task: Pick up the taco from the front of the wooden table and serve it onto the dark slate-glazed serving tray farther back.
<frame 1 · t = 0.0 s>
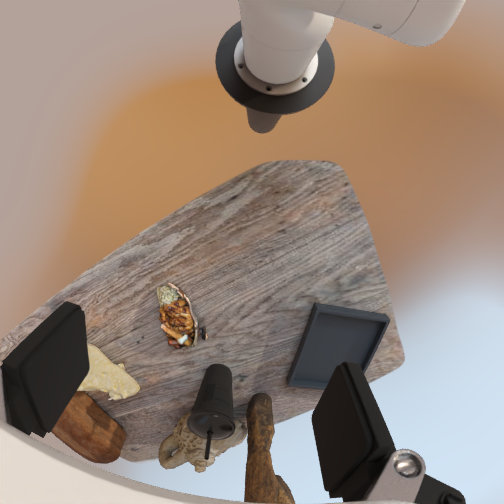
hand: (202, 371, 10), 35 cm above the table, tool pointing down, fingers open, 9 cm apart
taco: (177, 315, 49), on the table
cheese: (111, 356, 52), on the table
sculpture: (265, 394, 54), on the table
drinking cup: (218, 372, 53), on the table
serving tray: (336, 348, 51), on the table
teapot: (205, 416, 57), on the table
bread: (82, 402, 58), on the table
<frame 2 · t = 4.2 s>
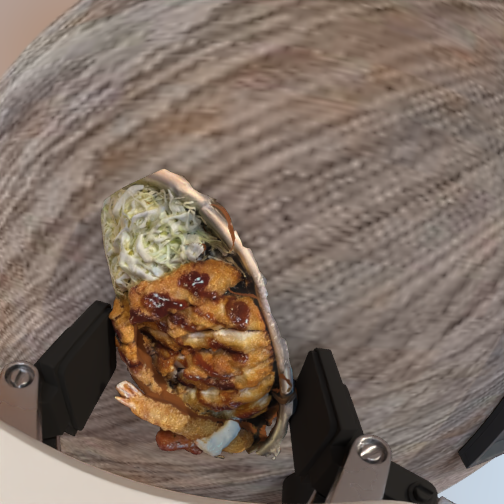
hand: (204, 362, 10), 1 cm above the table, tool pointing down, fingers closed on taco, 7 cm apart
taco: (193, 333, 11), on the table, touching gripper
drinking cup: (317, 478, 15), on the table
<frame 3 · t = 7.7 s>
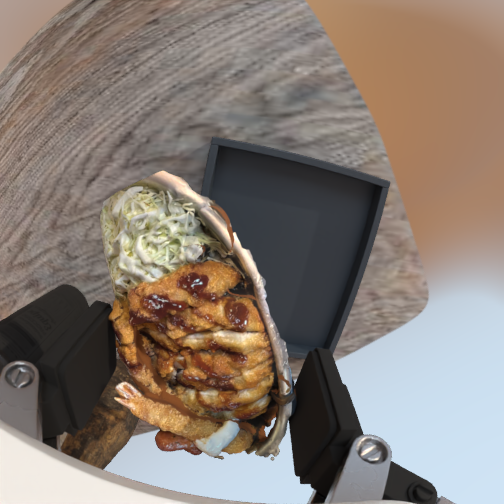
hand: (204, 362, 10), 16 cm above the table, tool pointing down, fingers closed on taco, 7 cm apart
taco: (192, 333, 11), point 14 cm above the table, touching gripper
sculpture: (154, 358, 29), on the table
drinking cup: (72, 304, 27), on the table
serving tray: (278, 256, 25), on the table
when the fingers open (2 cm above the table, at t = 11.6 s): taco stays where it is, resting on serving tray.
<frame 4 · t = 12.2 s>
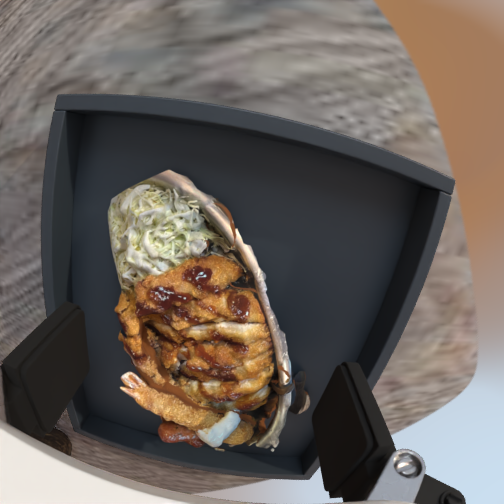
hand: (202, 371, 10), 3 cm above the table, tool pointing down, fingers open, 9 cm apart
taco: (195, 327, 12), resting on serving tray
sculpture: (66, 435, 16), on the table
serving tray: (212, 331, 12), on the table
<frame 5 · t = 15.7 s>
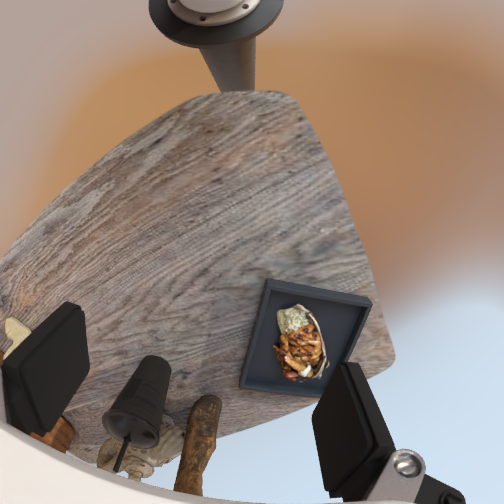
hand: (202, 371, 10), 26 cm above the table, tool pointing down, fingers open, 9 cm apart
taco: (297, 341, 39), resting on serving tray
cheese: (46, 341, 41), on the table
sculpture: (215, 397, 44), on the table
drinking cup: (156, 366, 42), on the table
serving tray: (301, 342, 40), on the table
teapot: (151, 418, 46), on the table
bread: (30, 394, 47), on the table
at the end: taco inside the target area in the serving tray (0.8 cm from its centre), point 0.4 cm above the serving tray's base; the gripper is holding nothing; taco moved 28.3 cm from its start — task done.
